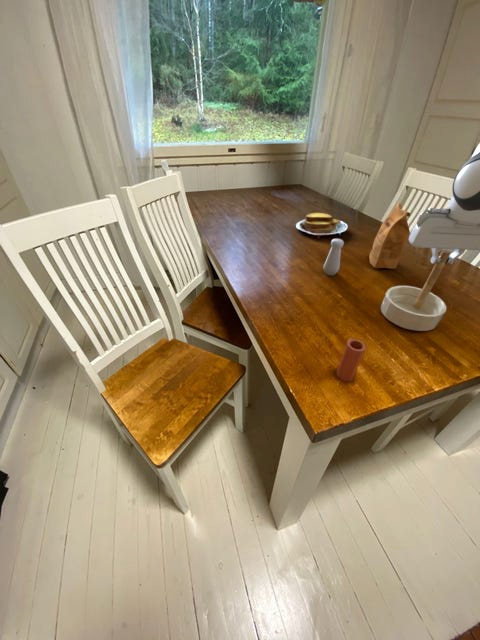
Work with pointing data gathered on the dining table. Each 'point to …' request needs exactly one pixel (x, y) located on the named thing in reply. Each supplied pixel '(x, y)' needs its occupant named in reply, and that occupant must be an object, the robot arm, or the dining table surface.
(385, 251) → the coffee package
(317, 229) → the food on plate
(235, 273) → the dining table surface
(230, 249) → the dining table surface
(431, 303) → the bowl
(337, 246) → the salt shaker
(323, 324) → the dining table surface
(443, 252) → the stirring stick
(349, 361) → the utensil holder
